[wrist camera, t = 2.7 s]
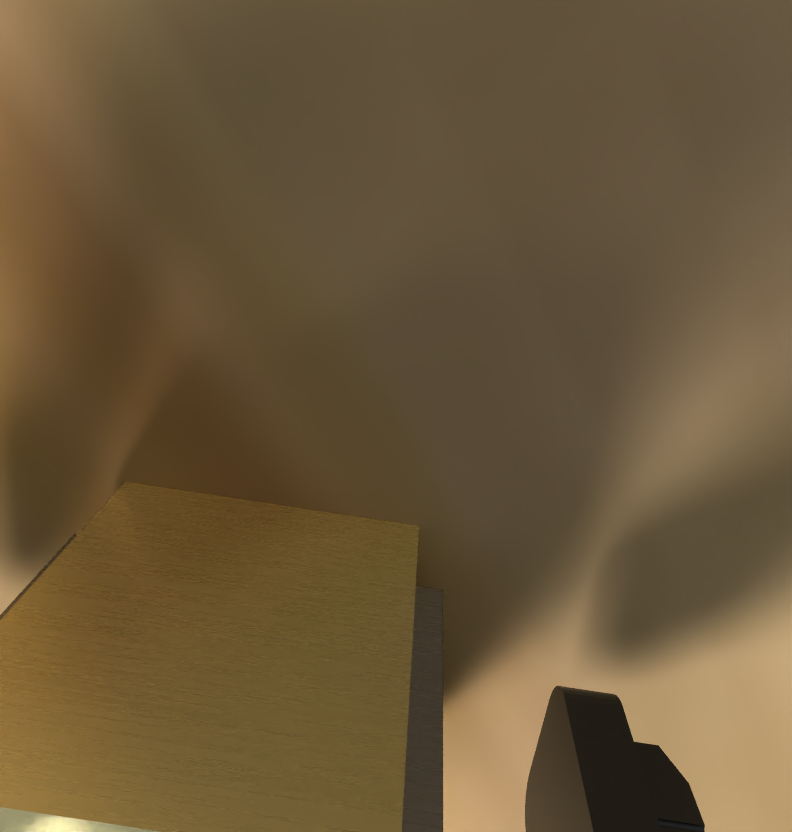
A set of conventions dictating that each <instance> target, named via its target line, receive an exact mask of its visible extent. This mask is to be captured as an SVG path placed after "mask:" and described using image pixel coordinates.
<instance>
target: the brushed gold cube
mask: <svg viewBox="0 0 792 832" xmlns="http://www.w3.org/2000/svg"><path fill="white" fill-rule="evenodd" d="M418 538H419V526H416V525H409V524H403V523H396V522H389V521H383V520H376V519H369V518H363V517H356V516H350V515H343V514H336V513H330V512H323V511H316V510H310V509H303V508H296V507H290V506H283V505H276V504H270V503H263V502H257V501H250V500H243V499H237V498H230V497H223V496H217V495H210V494H203V493H197V492H190V491H184V490H177V489H170V488H164V487H157V486H150V485H144V484H137V483H130V482H125V483H124V484H123V485H122V486H121V487H120V488H119V489H118V490H117V492H116V493H115V494H114V495H113V496H112V497H111V498H110V499H109V500H108V502H107V503H106V504H105V505H104V506H103V507H102V508H101V509H100V510H99V511H98V513H97V514H96V515H95V516H94V517H93V518H92V519H91V520H90V521H89V523H88V524H87V525H86V526H85V527H84V528H83V529H82V530H81V531H80V533H79V534H78V535H76V534H74V535H73V536H72V537H71V538H70V539H69V540H68V542H67V543H66V544H65V545H64V546H63V547H62V548H61V549H60V550H59V551H58V552H57V554H56V555H55V556H54V557H53V558H52V559H51V560H50V561H49V562H48V563H47V565H46V566H45V567H44V568H43V569H42V570H41V571H40V572H39V573H38V574H37V576H36V577H35V578H34V579H33V580H32V581H31V582H30V583H29V584H28V585H27V586H26V588H25V589H24V590H23V591H22V592H21V593H20V594H19V595H18V596H17V597H16V599H15V600H14V601H13V602H12V603H11V604H10V605H9V606H8V607H7V608H6V610H5V611H4V612H3V613H2V614H1V615H0V832H443V590H440V589H434V588H427V587H420V586H416V572H417V555H418Z"/></svg>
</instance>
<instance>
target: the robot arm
mask: <svg viewBox="0 0 792 832" xmlns="http://www.w3.org/2000/svg"><path fill="white" fill-rule="evenodd" d="M525 826H526V832H705V831H704V827H705V825H704V822H703V820H702V817H701V814H700V812H699V809H698V806H697V804H696V801H695V798H694V796H693V793H692V790H691V788H690V785H689V783H688V782H687V781H686V779H685V778H684V777H683V776H682V774H681V773H680V772H679V771H678V769H677V768H676V767H675V766H674V764H673V763H672V762H671V761H670V759H669V758H668V757H667V756H666V754H665V753H664V752H663V751H662V749H661V748H660V747H659V746H658V745H651V744H645V743H638V742H634V741H633V738H632V735H631V732H630V728H629V725H628V722H627V719H626V716H625V712H624V709H623V706H622V703H621V701H620V699H619V698H618V697H617V695H614V694H608V693H602V692H595V691H588V690H582V689H575V688H569V687H562V686H556V687H555V688H554V690H553V691H552V694H551V696H550V700H549V703H548V707H547V711H546V714H545V718H544V722H543V725H542V729H541V733H540V736H539V740H538V744H537V747H536V751H535V755H534V758H533V762H532V766H531V769H530V773H529V778H528V783H527V790H526V802H525Z"/></svg>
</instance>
